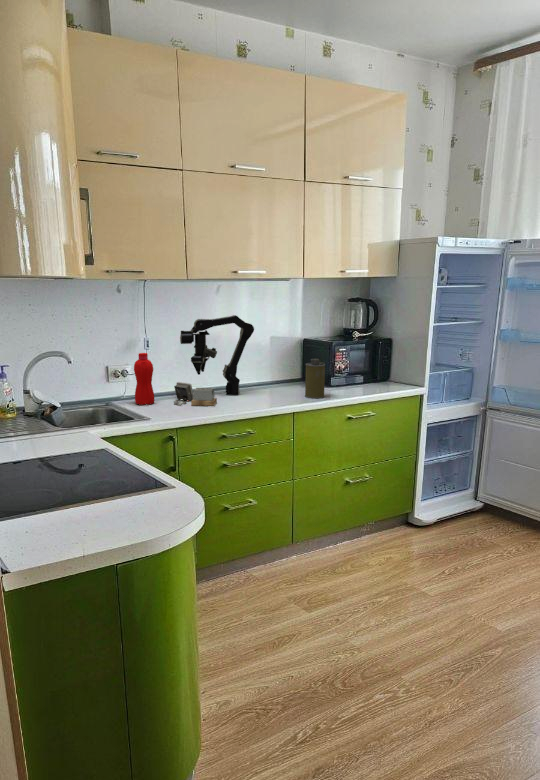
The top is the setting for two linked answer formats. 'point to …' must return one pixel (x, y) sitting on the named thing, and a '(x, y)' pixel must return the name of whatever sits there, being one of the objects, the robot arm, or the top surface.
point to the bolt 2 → (181, 402)
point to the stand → (204, 403)
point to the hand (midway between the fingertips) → (200, 373)
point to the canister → (315, 379)
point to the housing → (203, 394)
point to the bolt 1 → (177, 403)
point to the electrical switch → (184, 391)
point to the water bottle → (144, 380)
